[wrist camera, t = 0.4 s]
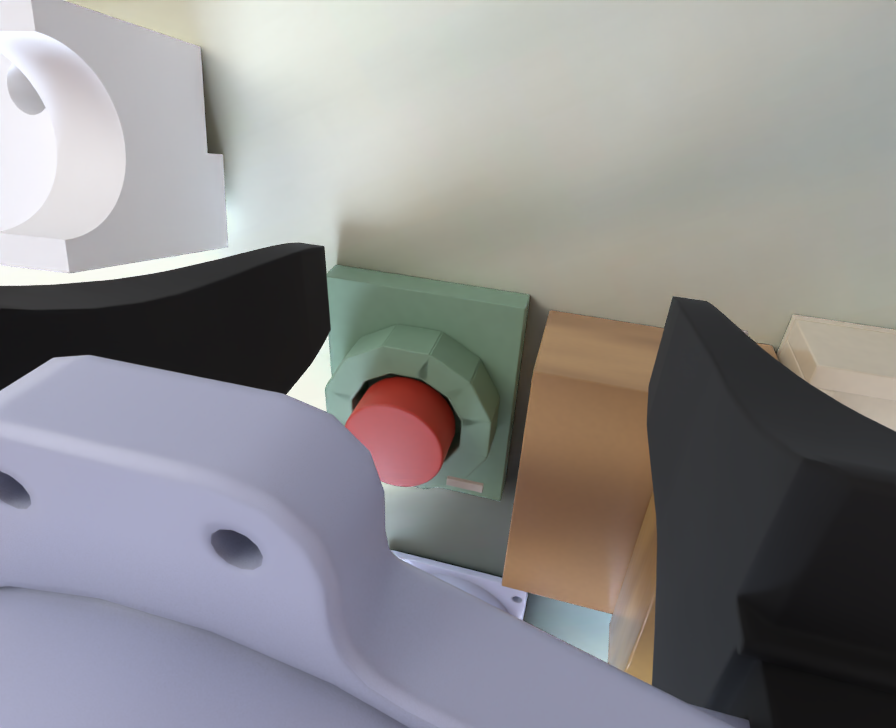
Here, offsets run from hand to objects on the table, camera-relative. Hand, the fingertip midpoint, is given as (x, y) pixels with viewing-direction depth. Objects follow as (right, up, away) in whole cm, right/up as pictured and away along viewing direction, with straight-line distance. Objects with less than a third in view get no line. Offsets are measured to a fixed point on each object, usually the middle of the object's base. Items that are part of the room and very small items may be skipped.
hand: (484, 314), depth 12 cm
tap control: (-2, -2, +14) cm, 14 cm away
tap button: (-2, -3, +12) cm, 12 cm away
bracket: (-16, +9, +12) cm, 21 cm away
